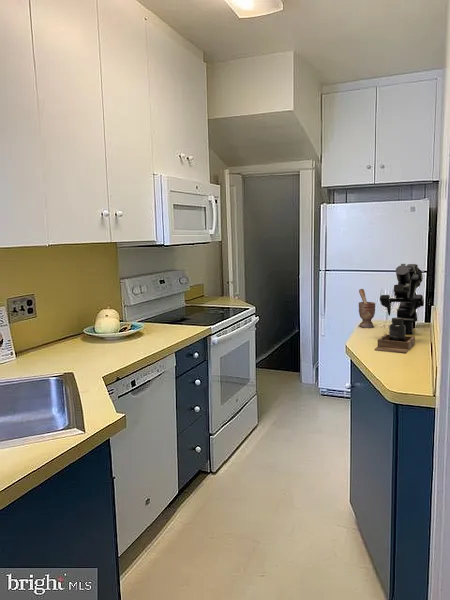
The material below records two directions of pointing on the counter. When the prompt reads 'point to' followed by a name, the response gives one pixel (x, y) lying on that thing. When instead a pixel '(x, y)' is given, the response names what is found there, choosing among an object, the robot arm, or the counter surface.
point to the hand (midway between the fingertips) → (399, 315)
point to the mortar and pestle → (366, 311)
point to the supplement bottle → (397, 330)
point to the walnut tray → (395, 344)
